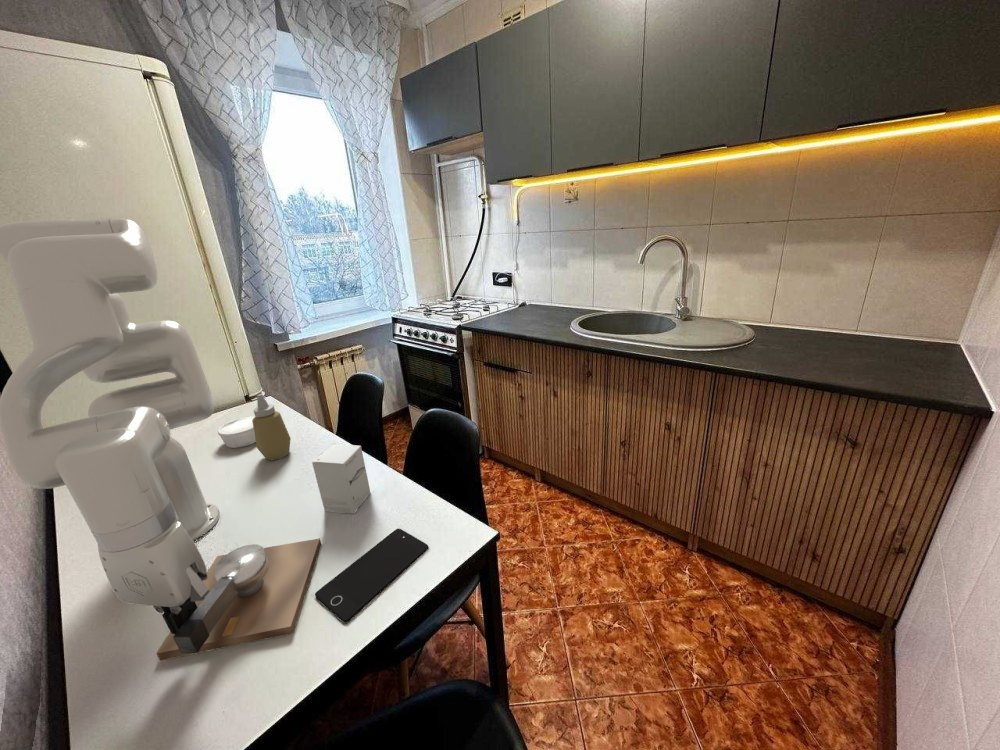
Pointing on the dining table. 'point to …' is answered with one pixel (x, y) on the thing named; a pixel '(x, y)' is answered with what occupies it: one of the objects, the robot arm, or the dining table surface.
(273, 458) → the squeeze bottle
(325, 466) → the supplement box
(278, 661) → the dining table surface
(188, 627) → the square-handled spoon
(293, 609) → the post base
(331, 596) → the cell phone
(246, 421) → the ramekin
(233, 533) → the dining table surface
